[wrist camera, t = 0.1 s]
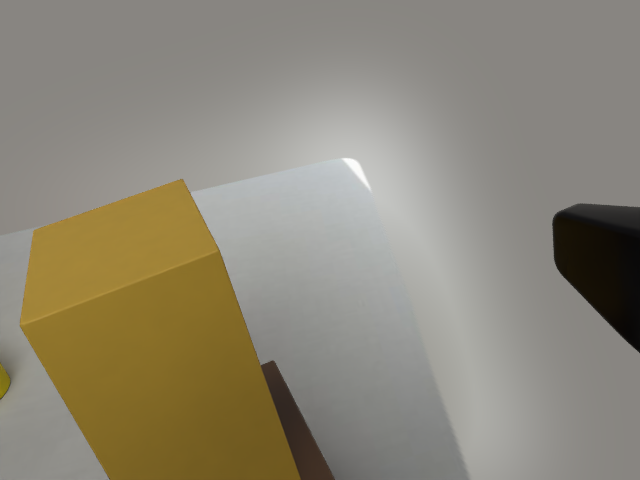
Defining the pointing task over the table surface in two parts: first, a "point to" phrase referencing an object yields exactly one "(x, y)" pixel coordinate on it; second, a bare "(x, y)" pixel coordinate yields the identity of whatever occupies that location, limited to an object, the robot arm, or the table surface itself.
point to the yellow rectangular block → (152, 343)
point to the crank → (3, 381)
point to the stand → (295, 428)
